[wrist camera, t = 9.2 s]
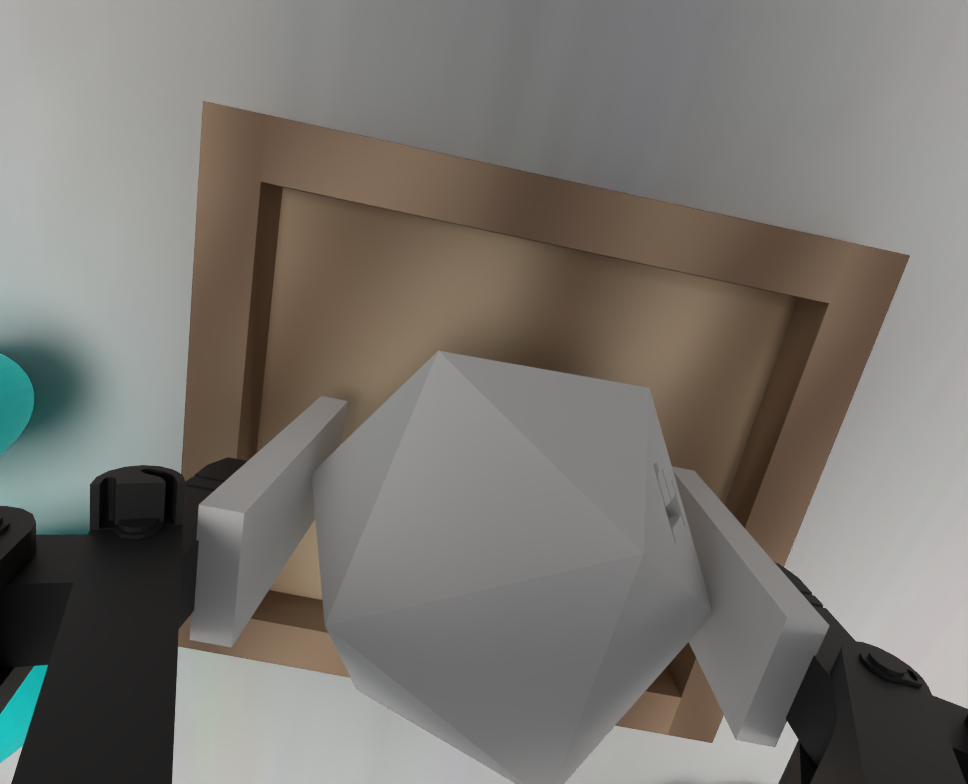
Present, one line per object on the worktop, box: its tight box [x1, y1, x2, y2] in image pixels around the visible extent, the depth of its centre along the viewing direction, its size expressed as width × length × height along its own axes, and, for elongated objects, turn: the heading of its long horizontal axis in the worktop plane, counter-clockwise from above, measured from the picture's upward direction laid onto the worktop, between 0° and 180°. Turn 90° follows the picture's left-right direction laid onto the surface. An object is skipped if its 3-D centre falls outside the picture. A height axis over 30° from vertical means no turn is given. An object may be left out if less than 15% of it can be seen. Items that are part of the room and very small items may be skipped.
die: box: [312, 351, 712, 784], centre depth 12 cm, size 8×9×10 cm
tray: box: [178, 101, 910, 743], centre depth 17 cm, size 19×17×2 cm
